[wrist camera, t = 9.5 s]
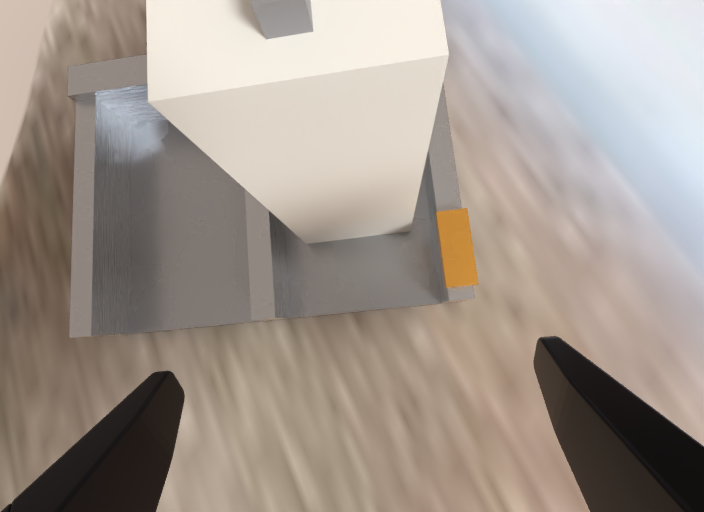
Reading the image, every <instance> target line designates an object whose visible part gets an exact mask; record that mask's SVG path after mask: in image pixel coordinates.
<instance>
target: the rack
mask: <svg viewBox="0 0 704 512" xmlns="http://www.w3.org/2000/svg"><path fill="white" fill-rule="evenodd" d="M67 96H68V97H70V98H71V99H72V100H74V101H75V102H76V116H75V151H74V186H73V221H72V256H71V291H70V326H69V338H79V337H96V336H113V335H126V334H136V333H146V332H157V331H167V330H177V329H187V328H197V327H208V326H218V325H228V324H238V323H249V322H259V321H269V320H279V319H289V318H300V317H310V316H320V315H330V314H341V313H351V312H361V311H371V310H381V309H392V308H402V307H412V306H422V305H433V304H443V303H453V302H462V301H466V300H470V299H474V298H475V295H474V288H473V285H477V284H478V277H477V271H476V264H475V257H474V251H473V244H472V237H471V231H470V224H469V217H468V211H467V208H464V209H462V207H461V200H460V193H459V186H458V179H457V173H456V166H455V159H454V152H453V146H452V139H451V132H450V125H449V118H448V112H447V105H446V98H445V91H444V84H442V89H441V93H440V98H439V102H438V107H437V111H436V116H435V121H434V125H433V130H432V134H431V139H430V143H429V148H428V153H427V157H426V162H425V166H424V171H423V175H422V180H421V185H420V189H419V194H418V198H417V203H416V207H415V212H414V217H413V221H412V226H411V230H410V231H408V232H400V233H392V234H384V235H375V236H367V237H359V238H351V239H342V240H334V241H326V242H318V243H310V244H306V243H305V242H304V241H303V240H302V239H301V238H299V237H298V236H297V235H296V234H295V233H294V232H293V231H292V230H290V229H289V228H288V227H287V226H286V225H285V224H284V223H283V222H282V221H280V220H279V219H278V218H277V217H276V216H275V215H274V214H273V213H271V212H270V211H269V210H268V209H267V208H266V207H265V206H264V205H263V204H261V203H260V202H259V201H258V200H257V199H256V198H255V197H254V196H252V195H251V194H250V193H249V192H248V191H247V190H246V189H245V188H244V187H242V186H241V185H240V184H239V183H238V182H237V181H236V180H235V179H233V178H232V177H231V176H230V175H229V174H228V173H227V172H226V171H225V170H223V169H222V168H221V167H220V166H219V165H218V164H217V163H216V162H214V161H213V160H212V159H211V158H210V157H209V156H208V155H207V154H206V153H204V152H203V151H202V150H201V149H200V148H199V147H198V146H197V145H195V144H194V143H193V142H192V141H191V140H190V139H189V138H188V137H187V136H185V135H184V134H183V133H182V132H181V131H180V130H179V129H178V128H176V127H175V126H174V125H173V124H172V123H171V122H170V121H169V120H167V119H166V118H165V117H164V116H163V115H162V114H161V113H160V112H159V111H157V110H156V109H155V108H154V107H153V106H152V105H151V104H150V103H148V82H147V54H145V55H138V56H132V57H126V58H120V59H113V60H107V61H101V62H94V63H88V64H82V65H76V66H69V67H68V90H67Z"/></svg>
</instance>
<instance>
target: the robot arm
mask: <svg viewBox="0 0 704 512" xmlns="http://www.w3.org/2000/svg"><path fill="white" fill-rule="evenodd" d="M534 369H535V373H536V376H537V379H538V382H539V385H540V388H541V391H542V394H543V397H544V401H545V404H546V407H547V410H548V413H549V416H550V419H551V422H552V425H553V428H554V431H555V434H556V436H557V438H558V441H559V443H560V445H561V448H562V450H563V452H564V454H565V456H566V459H567V461H568V463H569V465H570V468H571V470H572V472H573V474H574V476H575V479H576V481H577V483H578V485H579V488H580V490H581V492H582V494H583V497H584V499H585V501H586V503H587V505H588V508H589V510H590V512H704V446H703V445H701V444H700V443H699V442H697V441H696V440H695V439H693V438H692V437H691V436H689V435H688V434H687V433H685V432H684V431H683V430H681V429H680V428H679V427H678V426H676V425H675V424H674V423H672V422H671V421H670V420H668V419H667V418H666V417H664V416H663V415H662V414H660V413H659V412H658V411H656V410H655V409H654V408H652V407H651V406H650V405H648V404H647V403H646V402H644V401H643V400H642V399H640V398H639V397H638V396H636V395H635V394H634V393H632V392H631V391H630V390H628V389H627V388H626V387H624V386H623V385H622V384H620V383H619V382H618V381H616V380H615V379H614V378H613V377H611V376H610V375H609V374H607V373H606V372H605V371H603V370H602V369H601V368H599V367H598V366H597V365H595V364H594V363H593V362H591V361H590V360H589V359H587V358H586V357H585V356H583V355H582V354H581V353H579V352H578V351H577V350H575V349H574V348H573V347H571V346H570V345H569V344H567V343H566V342H565V341H563V340H562V339H561V338H559V337H557V336H549V337H541V338H539V339H538V341H537V345H536V350H535V356H534ZM184 397H185V396H184V391H183V388H182V387H181V385H180V384H179V382H178V380H177V379H176V377H175V375H174V374H173V373H172V372H171V371H160V372H155V373H153V374H151V375H150V376H149V377H148V378H147V379H146V380H145V381H144V382H143V383H141V384H140V385H139V386H138V387H137V388H136V389H135V390H134V391H133V392H132V393H130V394H129V395H128V396H127V397H126V398H125V399H124V400H123V401H122V402H121V403H120V404H118V405H117V406H116V407H115V408H114V409H113V410H112V411H111V412H110V413H109V414H107V415H106V416H105V417H104V418H103V419H102V420H101V421H100V422H99V423H98V424H97V425H95V426H94V427H93V428H92V429H91V430H90V431H89V432H88V433H87V434H86V435H84V436H83V437H82V438H81V439H80V440H79V441H78V442H77V443H76V444H75V445H74V446H72V447H71V448H70V449H69V450H68V451H67V452H66V453H65V454H64V455H63V456H61V457H60V458H59V459H58V460H57V461H56V462H55V463H54V464H53V465H52V466H51V467H49V468H48V469H47V470H46V471H45V472H44V473H43V474H42V475H41V476H40V477H38V478H37V479H36V480H35V481H34V482H33V483H32V484H31V485H30V486H29V487H27V488H26V489H25V490H24V491H23V492H22V493H21V494H20V495H19V496H18V497H17V498H15V499H14V500H13V502H12V504H9V505H8V506H7V507H5V508H4V509H3V510H2V511H1V512H156V509H157V506H158V503H159V500H160V497H161V493H162V490H163V487H164V484H165V481H166V477H167V474H168V471H169V468H170V464H171V461H172V457H173V452H174V448H175V443H176V438H177V433H178V428H179V424H180V419H181V414H182V409H183V404H184Z"/></svg>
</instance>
